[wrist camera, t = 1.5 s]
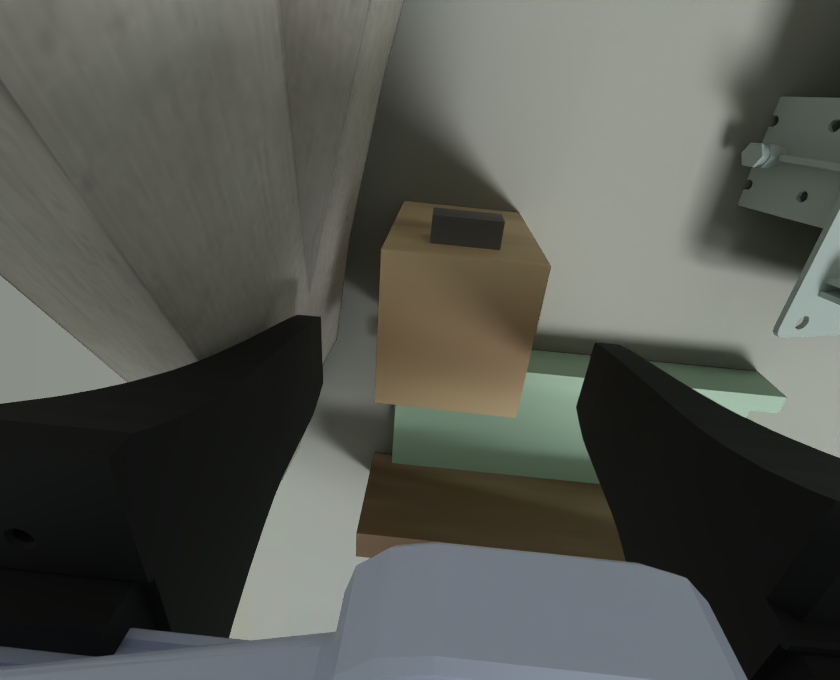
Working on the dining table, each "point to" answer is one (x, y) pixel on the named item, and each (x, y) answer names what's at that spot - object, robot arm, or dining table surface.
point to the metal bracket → (803, 204)
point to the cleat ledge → (550, 421)
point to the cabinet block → (457, 309)
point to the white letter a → (184, 166)
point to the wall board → (483, 512)
